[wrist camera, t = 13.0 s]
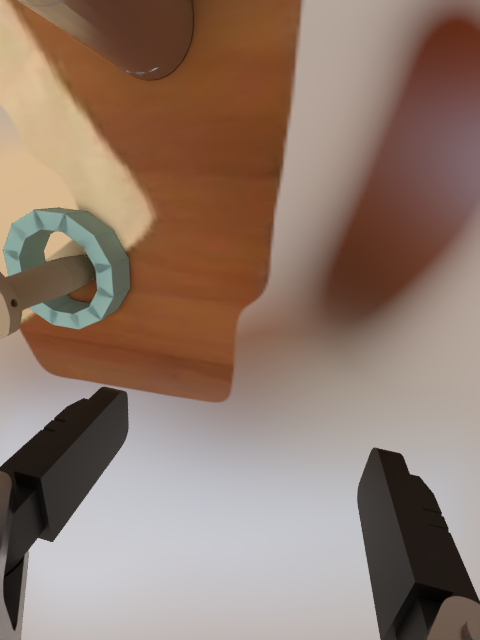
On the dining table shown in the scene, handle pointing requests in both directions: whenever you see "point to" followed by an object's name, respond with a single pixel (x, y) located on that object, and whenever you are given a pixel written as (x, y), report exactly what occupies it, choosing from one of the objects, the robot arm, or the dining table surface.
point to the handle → (40, 287)
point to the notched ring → (100, 247)
